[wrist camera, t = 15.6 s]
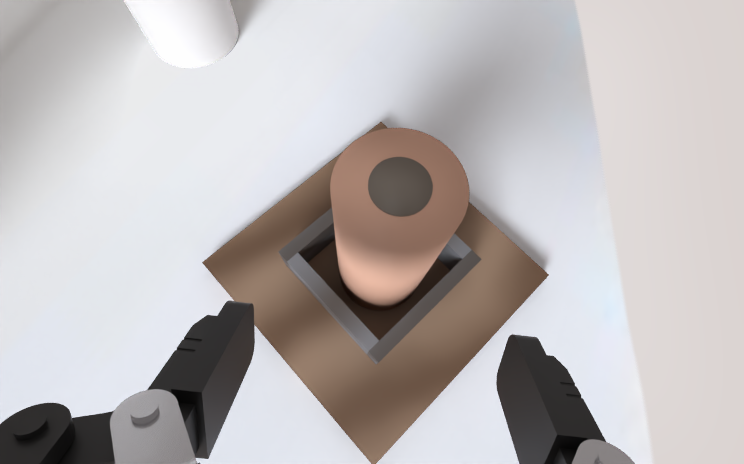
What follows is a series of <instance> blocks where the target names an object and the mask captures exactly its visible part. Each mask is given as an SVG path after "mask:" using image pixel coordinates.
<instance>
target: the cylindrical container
mask: <svg viewBox="0 0 744 464" xmlns="http://www.w3.org/2000/svg"><path fill="white" fill-rule="evenodd" d="M123 1H124V2H125V4H126V6H127V7H128V9H129V10H130V12H131V14H132V15H133V17H134V19H135V20H136V22H137V24H138V25H139V27H140V29H141V30H142V32H143V34H144V35H145V37H146V38H147V40H148V42H149V43H150V45H151V47H152V48H153V50H154V52H155V53H156V54H157V55H158V56H159V58H160V59H162V60H163V61H165V62H166V63H169V64H171V65H174V66H177V67H182V68H198V67H204V66H207V65H211V64H213V63H215V62H217V61H219V60H221V59H222V58H224V57H225V56H226V55H227V54H228V53H229V52H230V51H231V50H232V49H233V47H234V46H235V44H236V42H237V39H238V34H239V29H238V23H237V20H236V17H235V14H234V11H233V8H232V5H231V2H230V0H123Z"/></svg>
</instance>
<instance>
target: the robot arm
mask: <svg viewBox="0 0 744 464" xmlns="http://www.w3.org/2000/svg"><path fill="white" fill-rule="evenodd" d="M254 343H255V339H254V306H253V304H252V303H244V302H236V301H227V302H226V303H225V305H224V306H223V308H222V310H221V311H220V313H219V314H218V316H211V315H207V316H205V317H204V318H203V319H201V320H200V321H198V322H197V323H195V324H194V325H193V326H192V327H191V329H190V330H189V332H188V333H187V334H186V336H185V337H184V340H182V342H181V343H180V344H179V346H178V347H177V350H175V351H174V353H173V354H172V356H171V357H170V359H169V360H168V361H167V363H166V364H165V366H164V367H163V368H162V370H161V371H160V373H159V374H158V376H157V377H156V378H155V380H154V381H153V383H152V384H151V386H150V387H149V388H148V390H146V391H142V392H139V393H137V394H134V395H132V396H130V397H129V398H127V399H126V400H124V401H123V402H122V403H121V404H120V405H119V406H118V407H117V408H116V409H115V410H114V411H112V412H108V413H102V414H96V415H89V416H83V417H76V418H72V417H71V413H70V411H69V409H68V408H67V407H65V406H64V405H61V404H58V403H44V404H38V405H34V406H31V407H28V408H26V409H23V410H21V411H19V412H17V413H15V414H14V415H12V416H10V417H9V418H7V419H6V420H5V421H4V422H2V423H1V424H0V464H197V461H196V458H204V459H208V458H209V456H210V453H211V451H212V449H213V447H214V444H215V442H216V440H217V438H218V435H219V433H220V431H221V428H222V426H223V424H224V422H225V419H226V417H227V415H228V413H229V410H230V408H231V406H232V404H233V401H234V399H235V397H236V394H237V392H238V390H239V388H240V385H241V383H242V381H243V379H244V376H245V374H246V372H247V370H248V367H249V365H250V363H251V360H252V356H253V352H254ZM497 391H498V395H499V398H500V402H501V405H502V408H503V411H504V415H505V418H506V421H507V424H508V428H509V431H510V434H511V437H512V441H513V444H514V447H515V451H516V454H517V457H518V460H519V464H635V463H634V462H633V461H632V460H631V458H630V457H628V456H627V455H626V454H625V453H624V452H623V451H621V450H620V449H618V448H617V447H615V446H613V445H611V444H609V443H607V442H606V441H605V439H604V437H603V435H602V433H601V431H600V429H599V428H598V426H597V424H596V422H595V420H594V418H593V416H592V415H591V413H590V411H589V409H588V407H587V405H586V404H585V402H584V400H583V399H582V398H581V394H580V392H579V391H578V389H577V387H576V386H575V383H574V381H573V379H572V378H571V376H570V374H569V372H568V370H567V369H566V368H565V367H564V366H563V365H562V364H561V363H560V362H559V361H558V360H557V359H556V358H555V357H554V356H548V355H546V353H545V351H544V349H543V347H542V345H541V343H540V341H539V340H538V338H536V337H529V336H521V335H510V337H509V338H508V341H507V344H506V347H505V350H504V353H503V356H502V360H501V363H500V366H499V369H498V373H497ZM198 464H200V463H198Z"/></svg>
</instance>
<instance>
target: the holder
mask: <svg viewBox="0 0 744 464" xmlns="http://www.w3.org/2000/svg"><path fill="white" fill-rule="evenodd" d="M381 129H387V127H386V126H385V125H384V124H383V123H382V122H380V123H379V124H378V125H376V126H375V127H374V128H372V129H371V130H370V131H369V132H367V133H366V134H368V133H371V132H373V131H377V130H381ZM366 134H365V135H366ZM342 153H343V152H342ZM342 153H341V154H342ZM341 154H339V155H338V156H337V157H336V158H334V159H333V160H332V161H330V162H329V163H328V164H327V165H325V166H324V167H323V168H322V169H320V170H319V171H318V172H317V173H315V174H314V175H313V176H311V177H310V178H309V179H308V180H306V181H305V182H304V183H303V184H301V185H300V186H299V187H297V188H296V189H295V190H294V191H292V192H291V193H290V194H289V195H287V196H286V197H285V198H283V199H282V200H281V201H280V202H278V203H277V204H276V205H275V206H273V207H272V208H271V209H269V210H268V211H267V212H266V213H264V214H263V215H262V216H261V217H259V218H258V219H257V220H256V221H254V222H253V223H252V224H250V225H249V226H248V227H247V228H245V229H244V230H243V231H242V232H240V233H239V234H238V235H236V236H235V237H234V238H233V239H231V240H230V241H229V242H228V243H226V244H225V245H224V246H222V247H221V248H220V249H219V250H217V251H216V252H215V253H214V254H212V255H211V256H210V257H208V258H207V259H206V260H205V261H203V262H202V263H203V264H204V265H205V266H206V268H207V269H208V270H209V271H210V272H211V273H212V275H213V276H214V277H215V278H216V279H217V281H218V282H219V283H220V284H221V285H222V287H223V288H224V289H225V290H226V291H227V292H228V294H229V295H230V296H231V297H232V298H233V300H234V301H236V302H244V303H252V304H253V306H254V325H255V326H256V327H257V328H258V329H259V330H260V332H261V333H262V334H263V335H264V336H265V338H266V339H267V340H268V341H269V342H270V344H271V345H272V346H273V347H274V348H275V350H276V351H277V352H278V353H279V354H280V355H281V357H282V358H283V359H284V360H285V361H286V363H287V364H288V365H289V366H290V367H291V369H292V370H293V371H294V372H295V373H296V374H297V376H298V377H299V378H300V379H301V380H302V382H303V383H304V384H305V385H306V386H307V388H308V389H309V390H310V391H311V392H312V393H313V395H314V396H315V397H316V398H317V399H318V401H319V402H320V403H321V404H322V405H323V407H324V408H325V409H326V410H327V411H328V412H329V414H330V415H331V416H332V417H333V418H334V420H335V421H336V422H337V423H338V424H339V426H340V427H341V428H342V429H343V430H344V431H345V433H346V434H347V435H348V436H349V437H350V439H351V440H352V441H353V442H354V443H355V445H356V446H357V447H358V448H359V449H360V450H361V452H362V453H363V454H364V455H365V456H366V458H367V459H368V460H369V461H370V462H371V464H376V463H377V462H378V461H379V460H380V459H381V458H382V457H383V455H384V454H385V453H386V452H387V451H388V450H389V449H390V448H391V447H392V446H393V445H394V443H395V442H396V441H397V440H398V439H399V438H400V437H401V436H402V435H403V434H404V433H405V431H406V430H407V429H408V428H409V427H410V426H411V425H412V424H413V423H414V422H415V421H416V419H417V418H418V417H419V416H420V415H421V414H422V413H423V412H424V411H425V410H426V408H427V407H428V406H429V405H430V404H431V403H432V402H433V401H434V400H435V399H436V398H437V396H438V395H439V394H440V393H441V392H442V391H443V390H444V389H445V388H446V387H447V386H448V384H449V383H450V382H451V381H452V380H453V379H454V378H455V377H456V376H457V375H458V374H459V372H460V371H461V370H462V369H463V368H464V367H465V366H466V365H467V364H468V363H469V362H470V360H471V359H472V358H473V357H474V356H475V355H476V354H477V353H478V352H479V351H480V350H481V348H482V347H483V346H484V345H485V344H486V343H487V342H488V341H489V340H490V339H491V338H492V336H493V335H494V334H495V333H496V332H497V331H498V330H499V329H500V328H501V327H502V326H503V324H504V323H505V322H506V321H507V320H508V319H509V318H510V317H511V316H512V315H513V314H514V312H515V311H516V310H517V309H518V308H519V307H520V306H521V305H522V304H523V303H524V302H525V300H526V299H527V298H528V297H529V296H530V295H531V294H532V293H533V292H534V291H535V290H536V288H537V287H538V286H539V285H540V284H541V283H542V282H543V281H544V280H545V279H546V278H547V276H548V275H549V274H547V273H546V272H545V271H544V270H543V269H542V268H541V267H540V266H539V265H538V264H537V263H535V262H534V261H533V260H532V259H531V258H530V257H529V256H528V255H527V254H526V253H524V252H523V251H522V250H521V249H520V248H519V247H518V246H517V245H516V244H515V243H513V242H512V241H511V240H510V239H509V238H508V237H507V236H506V235H505V234H504V233H503V232H501V231H500V230H499V229H498V228H497V227H496V226H495V225H494V224H493V223H492V222H490V221H489V220H488V219H487V218H486V217H485V216H484V215H483V214H482V213H481V212H479V211H478V210H477V209H476V208H475V207H474V206H473V205H472V204H471V203H470V202H468V207H467V211H466V214H465V216H464V218H463V220H462V222H461V224H460V225H459V227H458V228H457V230H456V231H455V233H454V234H453V235H452V237H451V238H450V240H449V241H448V243H447V244H446V246H445V247H444V249H443V250H442V251H441V253H440V254H439V256H438V257H437V259H436V260H435V262H434V263H433V265H432V266H431V268H430V269H429V270H428V272H427V273H426V275H425V276H424V278H423V279H422V281H421V282H420V284H419V285H418V286H417V288H416V289H415V291H414V292H413V294H412V295H411V296H410V298H409V299H408V300H407V301H405V302H404V303H403V304H401V305H400V306H398V307H396V308H393V309H390V310H382V311H378V310H371V309H367V308H364V307H362V306H360V305H358V304H357V303H356V302H354V301H353V300H352V299H351V298H350V297H349V296H348V295H347V293H346V292H345V290H344V288H343V286H342V284H341V280H340V275H339V266H338V257H337V248H336V239H335V230H334V221H333V212H332V203H331V195H330V182H331V175H332V172H333V168H334V166H335V164H336V162H337V160H338V158H339V157H340V155H341Z"/></svg>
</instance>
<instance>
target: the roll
mask: <svg viewBox="0 0 744 464" xmlns="http://www.w3.org/2000/svg"><path fill="white" fill-rule="evenodd" d="M330 195H331V203H332V212H333V221H334V230H335V239H336V248H337V257H338V266H339V275H340V280H341V284H342V286H343V288H344V290H345V292H346V293H347V295H348V296H349V297H350V298H351V299H352V300H353V301H354V302H356V303H357V304H358V305H360V306H362V307H364V308H367V309H371V310H378V311H382V310H390V309H393V308H396V307H398V306H400V305H401V304H403V303H404V302H405V301H407V300H408V299H409V298H410V296H411V295H412V294H413V292H414V291H415V289H416V288H417V286H418V285H419V284H420V282H421V281H422V279H423V278H424V276H425V275H426V273H427V272H428V270H429V269H430V268H431V266H432V265H433V263H434V262H435V260H436V259H437V257H438V256H439V254H440V253H441V251H442V250H443V249H444V247H445V246H446V244H447V243H448V241H449V240H450V238H451V237H452V235H453V234H454V233H455V231H456V230H457V228H458V227H459V225H460V224H461V222H462V220H463V218H464V216H465V214H466V211H467V207H468V202H469V185H468V180H467V176H466V173H465V171H464V169H463V166H462V165H461V163H460V161H459V160H458V158H457V157H456V156H455V154H454V153H453V152H452V151H451V150H450V149H449V148H448V147H447V146H446V145H444V144H443V143H442V142H440V141H439V140H437V139H436V138H434V137H432V136H430V135H428V134H426V133H423V132H420V131H417V130H412V129H406V128H387V129H381V130H377V131H373V132H371V133H368V134H366V135H364V136H362V137H360V138H358V139H357V140H355V141H354V142H352V143H351V144H350V145H349V146H348V147H347V148H346V149H345V150H344V151H343V153H342V154H341V155H340V157H339V158H338V160H337V162H336V164H335V166H334V168H333V172H332V175H331V182H330Z"/></svg>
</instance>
